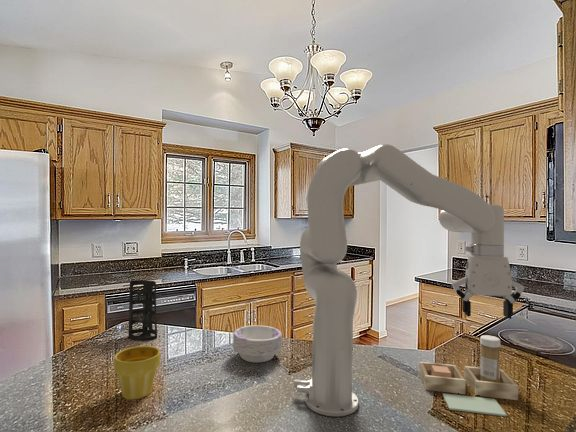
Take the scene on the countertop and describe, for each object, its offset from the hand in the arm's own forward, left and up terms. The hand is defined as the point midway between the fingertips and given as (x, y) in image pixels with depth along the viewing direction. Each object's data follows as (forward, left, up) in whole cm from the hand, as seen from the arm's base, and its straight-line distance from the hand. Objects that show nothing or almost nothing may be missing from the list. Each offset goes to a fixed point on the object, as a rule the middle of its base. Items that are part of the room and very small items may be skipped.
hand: (487, 316), depth 91 cm
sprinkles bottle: (+1, 0, -19) cm, 19 cm away
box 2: (+1, 0, -19) cm, 19 cm away
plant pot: (-86, -24, -19) cm, 92 cm away
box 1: (-11, 0, -19) cm, 22 cm away
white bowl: (-64, +5, -19) cm, 67 cm away
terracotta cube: (-11, 0, -19) cm, 22 cm away
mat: (-6, -10, -19) cm, 22 cm away
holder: (-109, +12, -19) cm, 112 cm away
